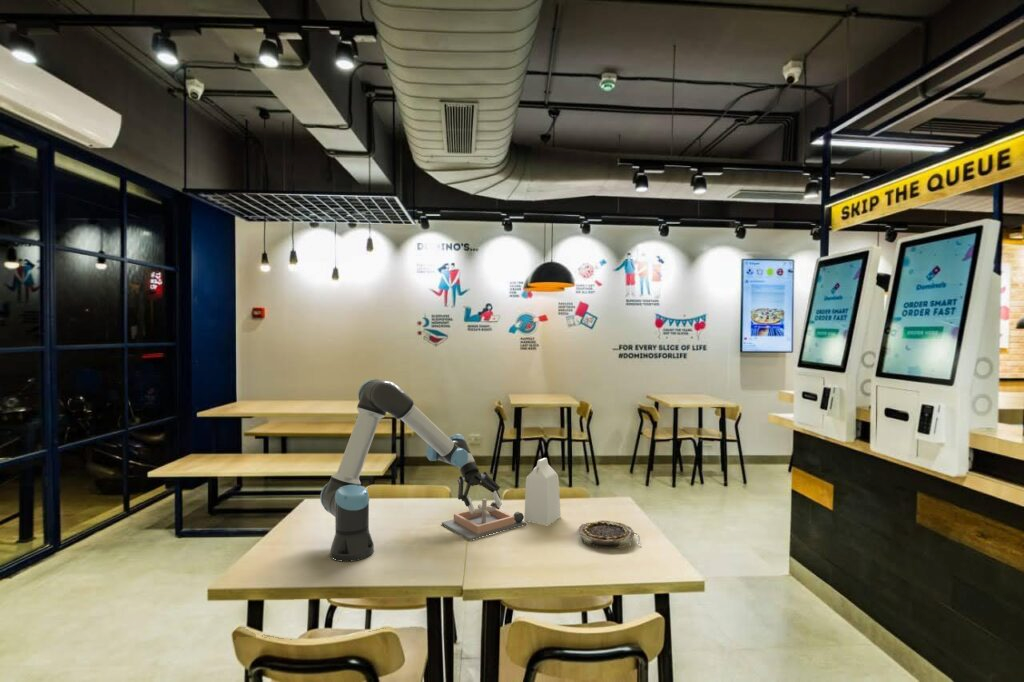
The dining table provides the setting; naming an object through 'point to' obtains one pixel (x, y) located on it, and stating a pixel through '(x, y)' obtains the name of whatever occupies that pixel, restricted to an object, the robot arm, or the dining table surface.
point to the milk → (542, 495)
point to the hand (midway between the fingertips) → (486, 509)
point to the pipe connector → (484, 510)
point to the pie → (607, 534)
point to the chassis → (473, 525)
